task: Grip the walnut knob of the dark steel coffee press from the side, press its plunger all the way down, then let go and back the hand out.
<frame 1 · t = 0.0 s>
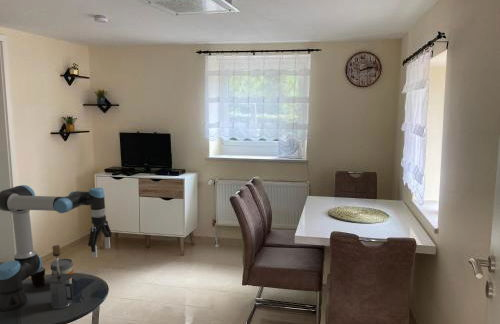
hand: (101, 252, 232), 28 cm above the table, tool pointing down, fingers open, 13 cm apart
coffee mug: (40, 284, 259), on the table
plunger: (57, 265, 228), point 23 cm above the table, slide at 0.0 cm
reusable coffee cup: (63, 285, 256), on the table
press carafe: (61, 304, 232), on the table
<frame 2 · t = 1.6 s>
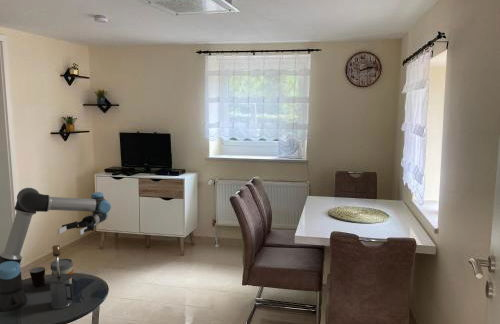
hand: (69, 232, 238), 38 cm above the table, tool horizontal, fingers open, 13 cm apart
nothing on the table moved.
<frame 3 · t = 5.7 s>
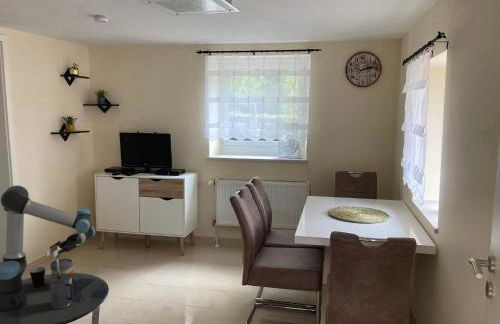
hand: (49, 254, 222), 31 cm above the table, tool horizontal, fingers closed on plunger, 4 cm apart
plunger: (57, 265, 228), point 23 cm above the table, slide at 0.0 cm, touching gripper
everything else where it was.
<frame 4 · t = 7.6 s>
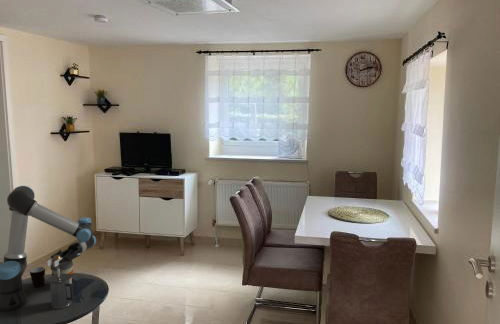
hand: (50, 264, 223), 26 cm above the table, tool horizontal, fingers closed on plunger, 4 cm apart
plunger: (58, 274, 229), point 18 cm above the table, slide at 5.6 cm, touching gripper
everything else where it was.
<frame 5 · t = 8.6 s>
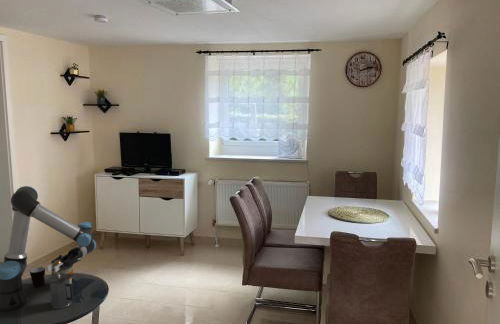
hand: (51, 269, 223), 23 cm above the table, tool horizontal, fingers closed on plunger, 4 cm apart
plunger: (59, 279, 229), point 15 cm above the table, slide at 8.4 cm, touching gripper
everything else where it was.
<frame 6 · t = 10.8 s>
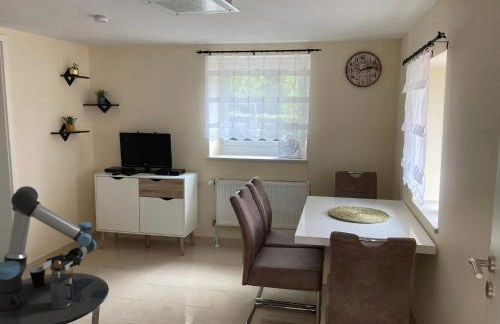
hand: (54, 267, 225), 23 cm above the table, tool horizontal, fingers open, 13 cm apart
plunger: (59, 279, 230), point 15 cm above the table, slide at 8.5 cm
everything else where it was.
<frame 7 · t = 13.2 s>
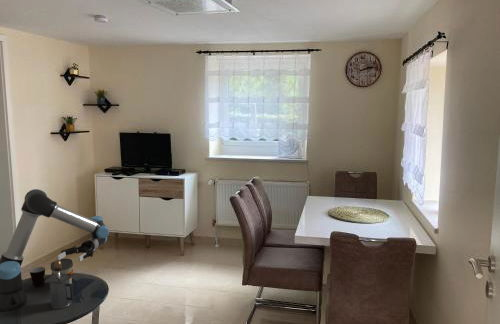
hand: (68, 258, 238), 23 cm above the table, tool horizontal, fingers open, 13 cm apart
nothing on the table moved.
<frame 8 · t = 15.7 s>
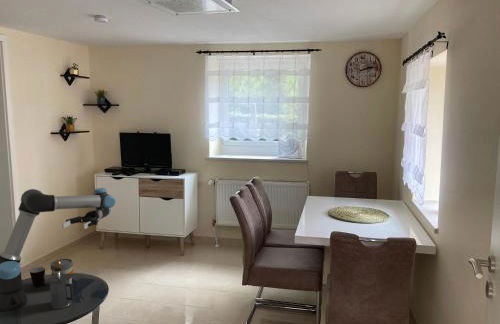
hand: (73, 226, 242), 40 cm above the table, tool horizontal, fingers open, 13 cm apart
nothing on the table moved.
at the end: plunger slide at 8.5 cm; the gripper is holding nothing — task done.
